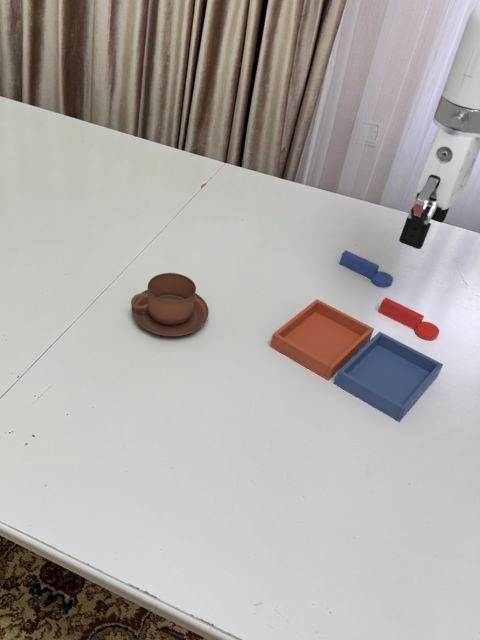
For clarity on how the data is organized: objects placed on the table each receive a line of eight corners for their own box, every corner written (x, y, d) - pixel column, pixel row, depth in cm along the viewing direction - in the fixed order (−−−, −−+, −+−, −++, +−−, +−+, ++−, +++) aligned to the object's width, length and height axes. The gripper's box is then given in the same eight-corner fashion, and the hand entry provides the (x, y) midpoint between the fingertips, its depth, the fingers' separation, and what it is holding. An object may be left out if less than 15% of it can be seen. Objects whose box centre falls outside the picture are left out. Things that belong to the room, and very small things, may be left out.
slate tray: (437, 376, 92) (443, 364, 90) (399, 422, 85) (405, 409, 83) (374, 343, 97) (379, 331, 95) (333, 383, 90) (337, 371, 88)
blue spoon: (395, 281, 110) (399, 270, 108) (385, 290, 108) (389, 278, 106) (345, 258, 115) (349, 247, 113) (335, 266, 113) (339, 255, 111)
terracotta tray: (369, 340, 97) (374, 328, 96) (328, 380, 90) (332, 368, 88) (313, 310, 102) (316, 298, 100) (269, 346, 95) (272, 334, 93)
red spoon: (440, 333, 100) (446, 321, 98) (431, 343, 98) (436, 332, 96) (384, 305, 105) (389, 294, 103) (374, 314, 102) (378, 303, 101)
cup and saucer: (156, 352, 92) (158, 320, 88) (118, 308, 99) (118, 276, 95) (222, 328, 97) (226, 297, 93) (181, 287, 104) (183, 257, 100)
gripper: (476, 143, 72) (426, 266, 83) (513, 105, 83) (464, 218, 94) (414, 124, 75) (374, 245, 86) (458, 89, 86) (417, 201, 97)
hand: (421, 231), depth 90 cm, fingers open, 9 cm apart
